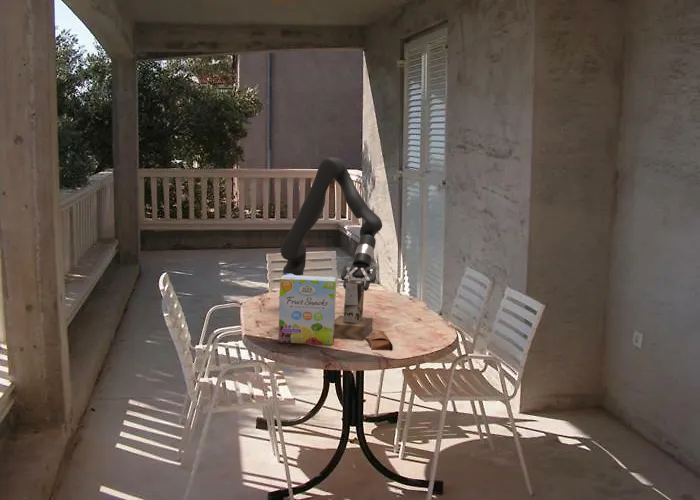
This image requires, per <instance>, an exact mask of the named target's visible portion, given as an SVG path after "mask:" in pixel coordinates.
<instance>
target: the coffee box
mask: <svg viewBox="0 0 700 500" xmlns="http://www.w3.org/2000/svg"><path fill="white" fill-rule="evenodd" d="M365 282H366V280H361V279H360V280H358V279H356V280H355V279H352V280H350V281H348V282H347V283H346V288H345V289H344V291H345V292H344V305H343V306H344V307H343V316H344V318H343V322H351V323H358V322H359V321H361V320H362V317H363V315H364V313H363V311H364V301H365V299H364V297H365V290H364V286H365Z"/></svg>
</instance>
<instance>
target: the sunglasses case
mask: <svg viewBox="0 0 700 500" xmlns="http://www.w3.org/2000/svg"><path fill="white" fill-rule="evenodd" d="M365 341H367V343H368V344H369V347H370V350H371V351H393V348H394V346H393V343H392V342H391V340H390V339H389V337H388V336H387V334H385V332H384V331H383V330H379V331H377V333H376V334H373V335H371V336H370V335H369V337H368V336H367V337H366V338H365Z"/></svg>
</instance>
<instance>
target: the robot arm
mask: <svg viewBox="0 0 700 500" xmlns="http://www.w3.org/2000/svg"><path fill="white" fill-rule="evenodd" d="M333 180H335V182H337V183H338V185H339V186H340V188H341V191H342V193H343V196H344V199H345V202H346V204H347V206H348V208H349V209H350V210H351V213H352V214H353V216H354V217H355V218H356V219H358V220H359V219H363V220H364V221H365V222H364V223H363V224H362V225H361V227H360V230H359V242H358V245H357V248H356V250H355V253H354V256H353V261H352V265H351V266H350V267H349V266H347V265H344V266H343V269H342V272H341V274H340V278H341V281H343V283H342V286H343V288H344V290H345V288H346V283H347V282H348V281H350V280H354V279H360V280H361V279H365V280H364V281H365V285H364V292H367V290H368V291H369V287H370V285H371V284H375V283H376V278H377V273H378V272H377V268H376V267H374V268H371V266H372V262H373V259H374V251H375V247H376V244H377V243H376V238H375V236H376V234H378V233H379V232H380V231H381V229H382V228H383V222H382V219H381V217H379V216H378V214H376V213H375V212H374V211H373V210H372V209H371V208H369V206H368V205H367V203H366V202H365V200H364V199H363V197H362V196H361V194H360V192H359V191H358V189H357V187H356V186H355V183H354V181H353V180H352V177H351V175H350V172H349V171H348V168H347V166H346V164H345V162H344V161H343V159H342V158H339V157H333V156H332V157H331V156H330V157H326V158H324V159H323V160H321V162H320V163H319V166H318V168H317V171H316V175H315V177H314V180H313V183H312V185H311V187H310V188H309V191H308V193H307V195H306V196H305V199H304V201H303V203H302V205H301V207H300V209H299V212H298V214H297V216H296V218H295V220H294V222H293V224H292V227H291V229H289V232H288V234H287V235H286V237H285V238H284V240H283V242H282V243H281V246H280V255H281V257H282V258H283V259H284V260H287V262H286V264H285V266H284V267H283V269H282V270H283V271H282V274H294V275H296V276H304V270H305V267H306V260H307V247H306V243H305V242H304V238H305V237H306V236H307V234H308V233H309V232H310V231H311V229H312V228H313V227H314V226H315V225H316V224H317V222H318V220H319V219H320V217H321V215H322V213H323V211H324V209H325V204H326V195H327V191H328V189H329V187H330V185H331V182H332V181H333ZM349 271H350V272H349ZM369 274H371V277H370V278H369Z"/></svg>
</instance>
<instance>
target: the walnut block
mask: <svg viewBox="0 0 700 500" xmlns="http://www.w3.org/2000/svg"><path fill="white" fill-rule="evenodd" d="M343 318H344V315H339V316H338V317H337V318H335V324H334V339H335V338H336V339H343V340H344V339H346V340H356V341H365V340H366V338H368V336H370V335H371V333H372V332H373V317H363V316H362V320H361V321H359V322H358V323H351V322H343Z"/></svg>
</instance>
